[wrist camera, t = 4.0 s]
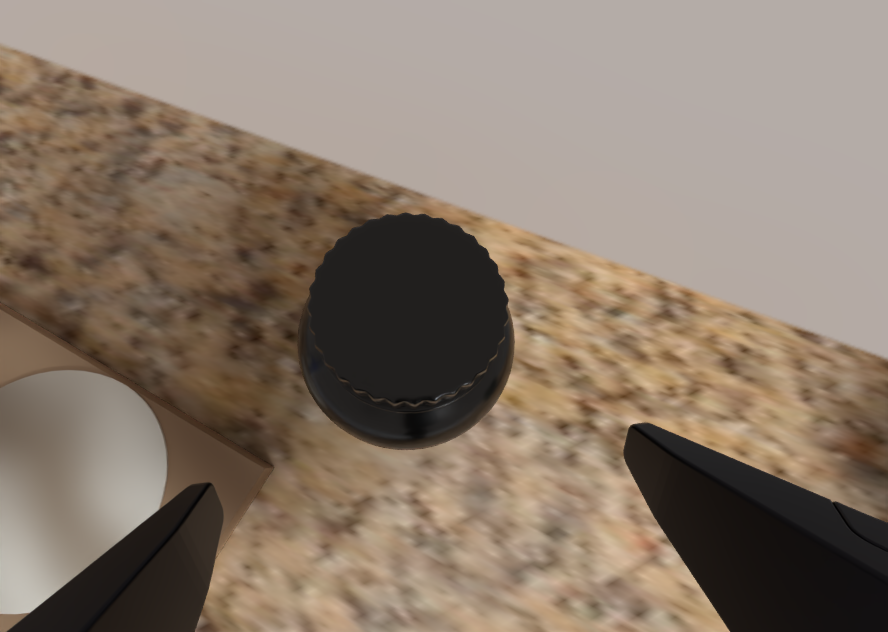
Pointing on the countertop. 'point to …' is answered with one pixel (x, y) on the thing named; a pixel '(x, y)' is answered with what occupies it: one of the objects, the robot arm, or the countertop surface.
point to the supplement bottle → (406, 332)
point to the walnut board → (91, 463)
